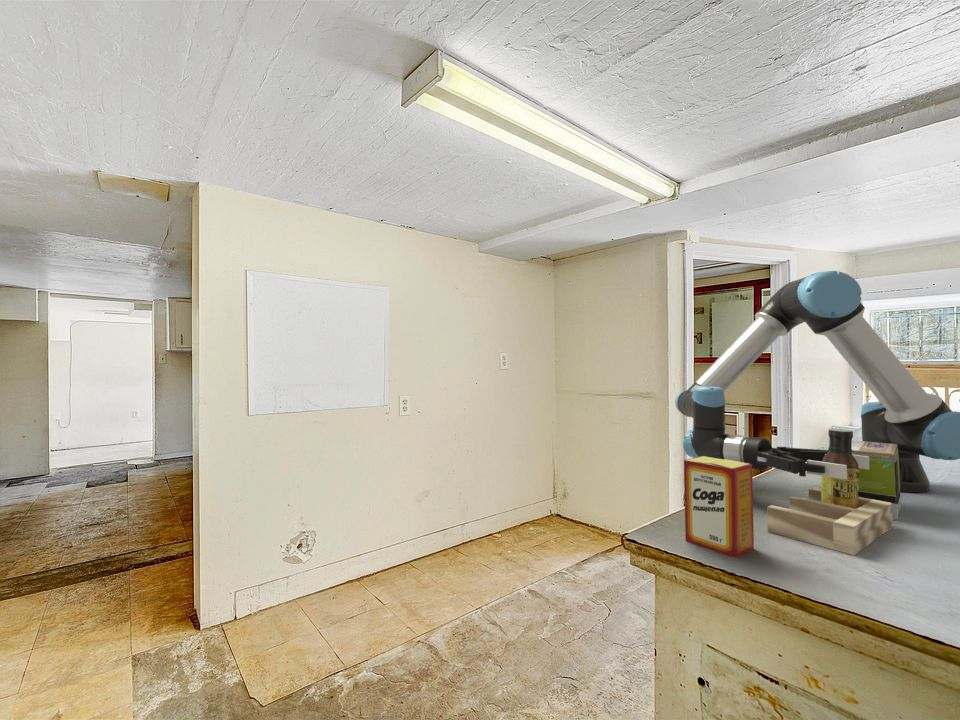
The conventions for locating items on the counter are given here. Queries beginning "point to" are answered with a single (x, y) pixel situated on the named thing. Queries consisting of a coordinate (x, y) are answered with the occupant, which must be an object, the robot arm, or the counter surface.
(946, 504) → the counter surface
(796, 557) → the counter surface
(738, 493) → the baking soda box
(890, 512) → the comb rack
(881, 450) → the tea box
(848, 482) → the sauce bottle
